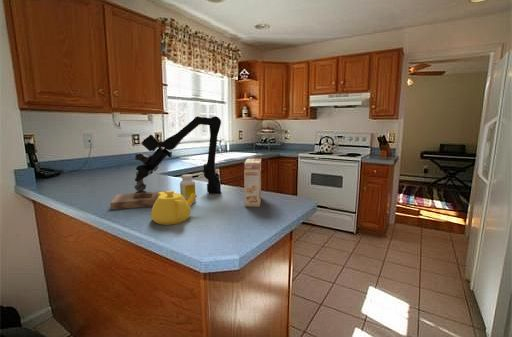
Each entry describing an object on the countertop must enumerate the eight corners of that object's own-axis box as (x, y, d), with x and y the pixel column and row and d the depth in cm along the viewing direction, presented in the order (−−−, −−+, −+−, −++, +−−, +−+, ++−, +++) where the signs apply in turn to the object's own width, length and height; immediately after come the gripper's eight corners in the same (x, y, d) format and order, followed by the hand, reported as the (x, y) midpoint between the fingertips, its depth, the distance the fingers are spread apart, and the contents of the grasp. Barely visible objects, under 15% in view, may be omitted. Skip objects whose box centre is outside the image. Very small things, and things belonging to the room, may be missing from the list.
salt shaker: (137, 191, 137) (134, 168, 135) (148, 190, 138) (146, 168, 136) (132, 194, 131) (130, 170, 129) (144, 193, 132) (142, 170, 130)
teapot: (211, 218, 101) (210, 190, 99) (165, 232, 88) (163, 200, 86) (184, 207, 115) (183, 182, 113) (142, 217, 102) (140, 189, 101)
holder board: (170, 196, 132) (170, 190, 131) (170, 204, 118) (169, 198, 118) (118, 200, 125) (117, 194, 124) (111, 209, 111) (110, 202, 111)
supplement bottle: (198, 201, 123) (197, 174, 121) (189, 205, 117) (188, 177, 115) (187, 199, 126) (186, 173, 124) (177, 203, 120) (176, 175, 118)
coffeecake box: (260, 206, 115) (260, 162, 111) (243, 206, 115) (243, 162, 112) (261, 197, 129) (261, 158, 126) (247, 197, 130) (246, 158, 127)
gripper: (150, 145, 140) (130, 166, 141) (138, 148, 122) (116, 172, 123) (166, 159, 142) (147, 180, 143) (157, 164, 124) (135, 188, 125)
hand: (136, 179), depth 133 cm, fingers closed on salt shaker, 4 cm apart
